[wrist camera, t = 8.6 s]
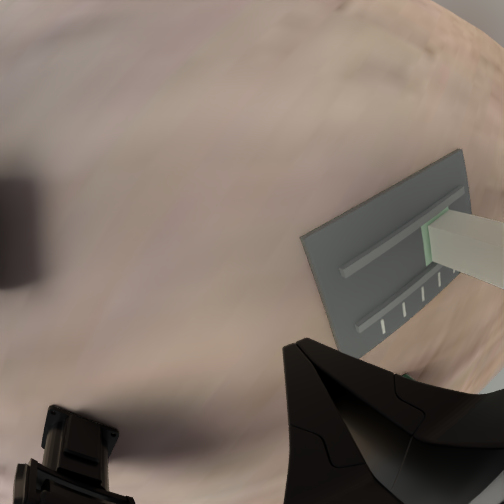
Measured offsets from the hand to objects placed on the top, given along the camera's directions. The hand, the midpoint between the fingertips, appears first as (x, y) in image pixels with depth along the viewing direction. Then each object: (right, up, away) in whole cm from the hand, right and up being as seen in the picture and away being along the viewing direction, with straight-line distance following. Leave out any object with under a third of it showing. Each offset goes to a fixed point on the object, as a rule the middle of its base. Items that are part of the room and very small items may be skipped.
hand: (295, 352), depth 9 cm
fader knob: (+18, +5, +17) cm, 25 cm away
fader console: (+14, +3, +18) cm, 23 cm away
